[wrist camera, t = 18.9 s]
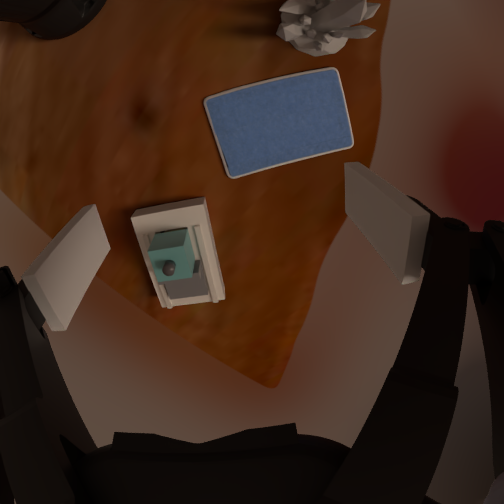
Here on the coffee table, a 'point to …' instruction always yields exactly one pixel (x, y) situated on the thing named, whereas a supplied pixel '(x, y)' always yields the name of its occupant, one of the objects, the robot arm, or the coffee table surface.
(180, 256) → the plug
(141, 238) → the grey tray
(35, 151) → the coffee table surface
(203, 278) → the shutter
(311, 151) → the blue flat panel
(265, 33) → the coffee table surface
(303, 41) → the crystal
